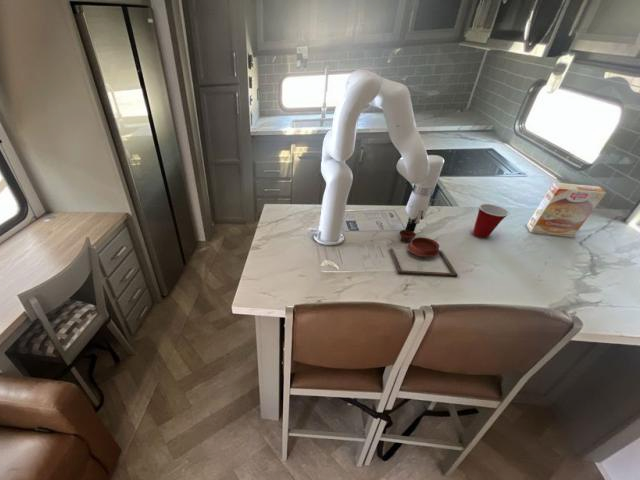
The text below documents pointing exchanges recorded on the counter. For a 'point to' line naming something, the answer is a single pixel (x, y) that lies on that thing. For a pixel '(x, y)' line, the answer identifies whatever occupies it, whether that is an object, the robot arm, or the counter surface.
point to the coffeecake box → (565, 209)
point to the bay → (452, 274)
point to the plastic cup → (488, 219)
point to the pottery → (420, 244)
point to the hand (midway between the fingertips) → (409, 230)
